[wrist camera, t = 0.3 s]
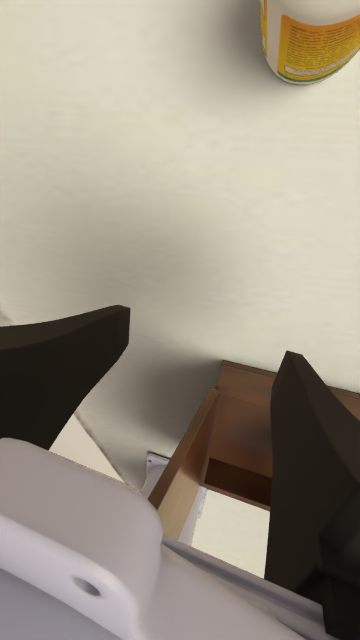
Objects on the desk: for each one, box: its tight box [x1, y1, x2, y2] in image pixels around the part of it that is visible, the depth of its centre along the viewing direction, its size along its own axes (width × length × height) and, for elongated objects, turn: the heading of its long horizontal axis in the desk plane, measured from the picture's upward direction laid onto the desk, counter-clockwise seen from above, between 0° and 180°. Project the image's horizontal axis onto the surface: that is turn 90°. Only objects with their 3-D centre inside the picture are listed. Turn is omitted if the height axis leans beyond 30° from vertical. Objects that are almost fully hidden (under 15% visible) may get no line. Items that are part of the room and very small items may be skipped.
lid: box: [147, 388, 219, 540], centre depth 18 cm, size 14×13×1 cm
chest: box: [200, 360, 360, 511], centre depth 24 cm, size 13×13×4 cm
